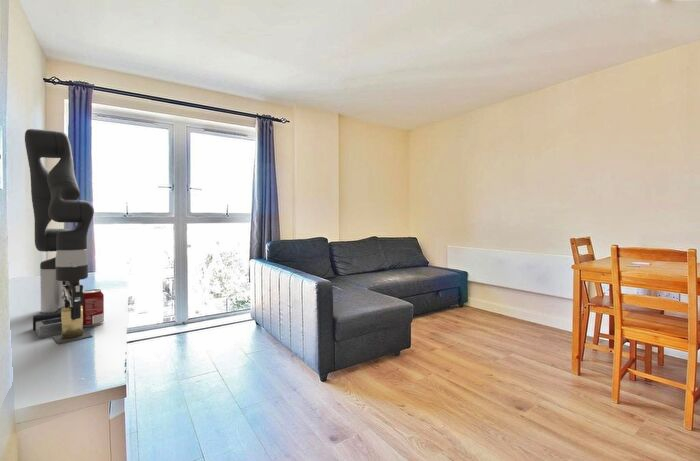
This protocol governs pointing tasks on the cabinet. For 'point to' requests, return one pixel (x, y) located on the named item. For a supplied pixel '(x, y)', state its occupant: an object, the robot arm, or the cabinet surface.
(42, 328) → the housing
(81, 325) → the brass cylinder
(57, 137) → the robot arm
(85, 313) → the soda can
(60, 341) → the mat
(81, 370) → the cabinet surface
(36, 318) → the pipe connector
